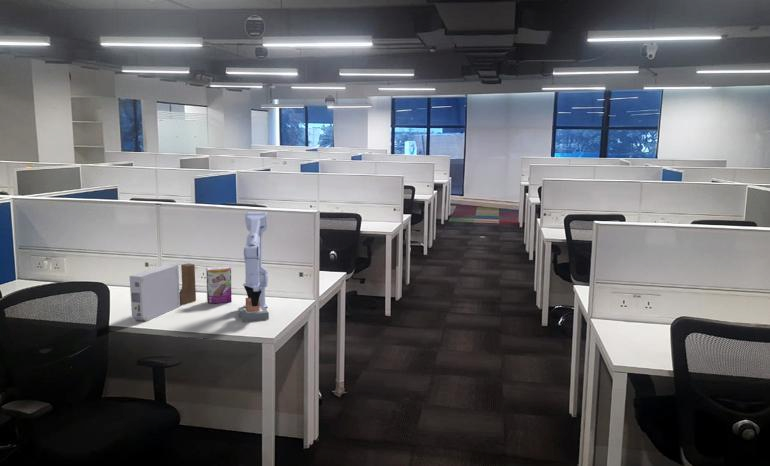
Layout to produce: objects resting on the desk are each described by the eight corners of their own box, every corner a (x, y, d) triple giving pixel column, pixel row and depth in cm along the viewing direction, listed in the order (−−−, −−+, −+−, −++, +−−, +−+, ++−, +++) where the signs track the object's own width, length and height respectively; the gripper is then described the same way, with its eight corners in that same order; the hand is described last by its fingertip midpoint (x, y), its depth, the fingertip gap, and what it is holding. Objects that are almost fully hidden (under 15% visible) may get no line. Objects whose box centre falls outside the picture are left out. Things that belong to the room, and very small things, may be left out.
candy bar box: (207, 304, 284) (206, 270, 282) (206, 301, 289) (205, 268, 287) (232, 302, 288) (231, 268, 286) (230, 299, 293) (229, 266, 291)
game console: (182, 306, 281) (180, 264, 278) (143, 323, 255) (141, 276, 252) (171, 305, 282) (169, 263, 279) (132, 321, 257) (129, 275, 254)
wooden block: (181, 305, 282) (179, 267, 280) (174, 303, 285) (172, 266, 282) (196, 301, 290) (194, 264, 287) (190, 299, 292) (188, 263, 290)
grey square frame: (238, 315, 267) (238, 308, 267) (263, 312, 272) (263, 305, 271) (243, 321, 257) (242, 314, 257) (268, 319, 262) (268, 311, 261)
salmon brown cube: (245, 309, 265) (245, 298, 264) (257, 307, 267) (256, 296, 266) (248, 312, 261) (247, 300, 260) (259, 310, 263) (259, 299, 262)
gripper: (240, 270, 267) (240, 300, 269) (246, 277, 253) (247, 309, 256) (256, 269, 269) (256, 299, 271) (262, 276, 256) (263, 307, 258)
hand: (253, 303), depth 264 cm, fingers open, 7 cm apart
